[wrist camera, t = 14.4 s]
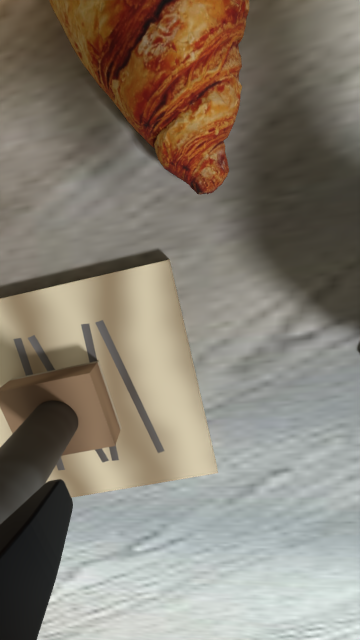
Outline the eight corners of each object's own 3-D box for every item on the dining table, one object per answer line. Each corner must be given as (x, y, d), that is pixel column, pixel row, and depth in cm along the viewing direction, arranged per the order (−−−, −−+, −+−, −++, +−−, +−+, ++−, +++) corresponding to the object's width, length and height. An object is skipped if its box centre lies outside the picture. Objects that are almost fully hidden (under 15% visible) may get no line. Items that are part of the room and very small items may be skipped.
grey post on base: (98, 360, 20) (-24, 525, 8) (121, 427, 21) (45, 646, 10) (11, 378, 20) (-221, 558, 9) (40, 442, 22) (-125, 667, 10)
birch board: (169, 259, 18) (168, 259, 18) (216, 463, 23) (217, 473, 22) (-134, 329, 20) (-150, 333, 19) (-33, 505, 25) (-42, 516, 24)
